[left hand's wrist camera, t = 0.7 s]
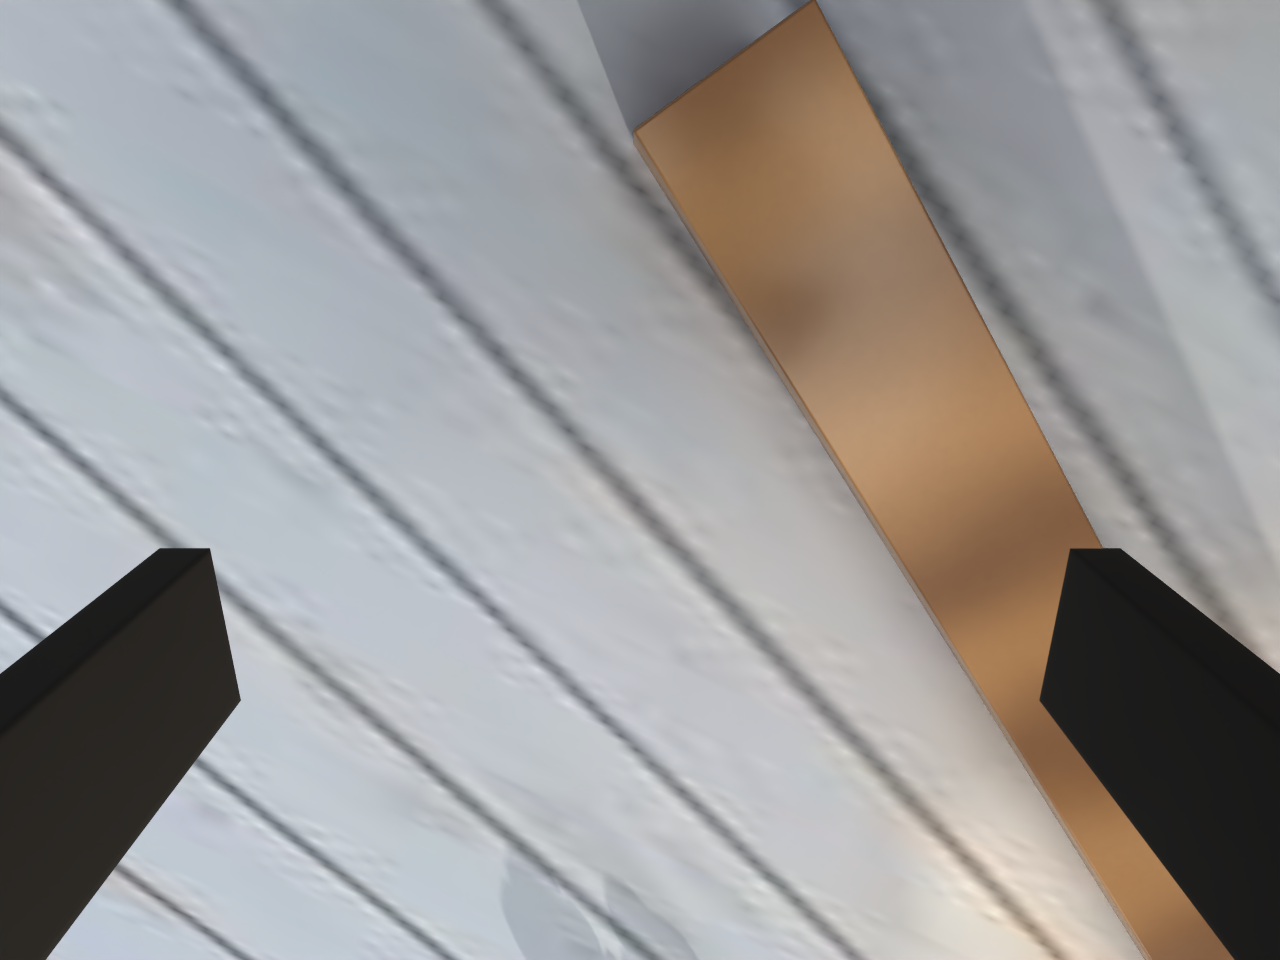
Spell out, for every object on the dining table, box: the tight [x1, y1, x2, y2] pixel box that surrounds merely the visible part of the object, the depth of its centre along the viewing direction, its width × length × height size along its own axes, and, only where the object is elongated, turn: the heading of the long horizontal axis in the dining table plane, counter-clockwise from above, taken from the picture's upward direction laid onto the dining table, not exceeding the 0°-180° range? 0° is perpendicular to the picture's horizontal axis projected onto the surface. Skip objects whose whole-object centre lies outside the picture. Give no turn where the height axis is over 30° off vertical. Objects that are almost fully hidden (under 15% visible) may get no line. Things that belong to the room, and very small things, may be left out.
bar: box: [633, 0, 1234, 960], centre depth 35 cm, size 71×5×8 cm, turn 34°
